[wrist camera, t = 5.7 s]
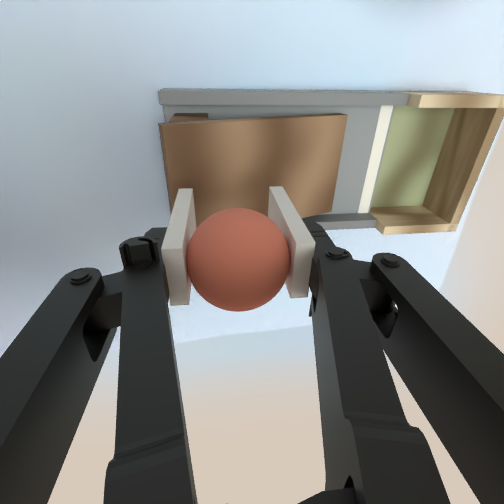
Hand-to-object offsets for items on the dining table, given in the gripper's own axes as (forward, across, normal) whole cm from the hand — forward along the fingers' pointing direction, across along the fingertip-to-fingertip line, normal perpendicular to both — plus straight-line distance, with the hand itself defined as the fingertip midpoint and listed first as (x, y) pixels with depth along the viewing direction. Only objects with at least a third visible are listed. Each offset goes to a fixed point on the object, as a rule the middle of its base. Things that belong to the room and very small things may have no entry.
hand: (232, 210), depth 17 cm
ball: (-5, 0, 0) cm, 5 cm away
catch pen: (+10, +17, 0) cm, 20 cm away
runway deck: (+10, +4, 0) cm, 11 cm away
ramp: (+9, +2, 0) cm, 9 cm away
